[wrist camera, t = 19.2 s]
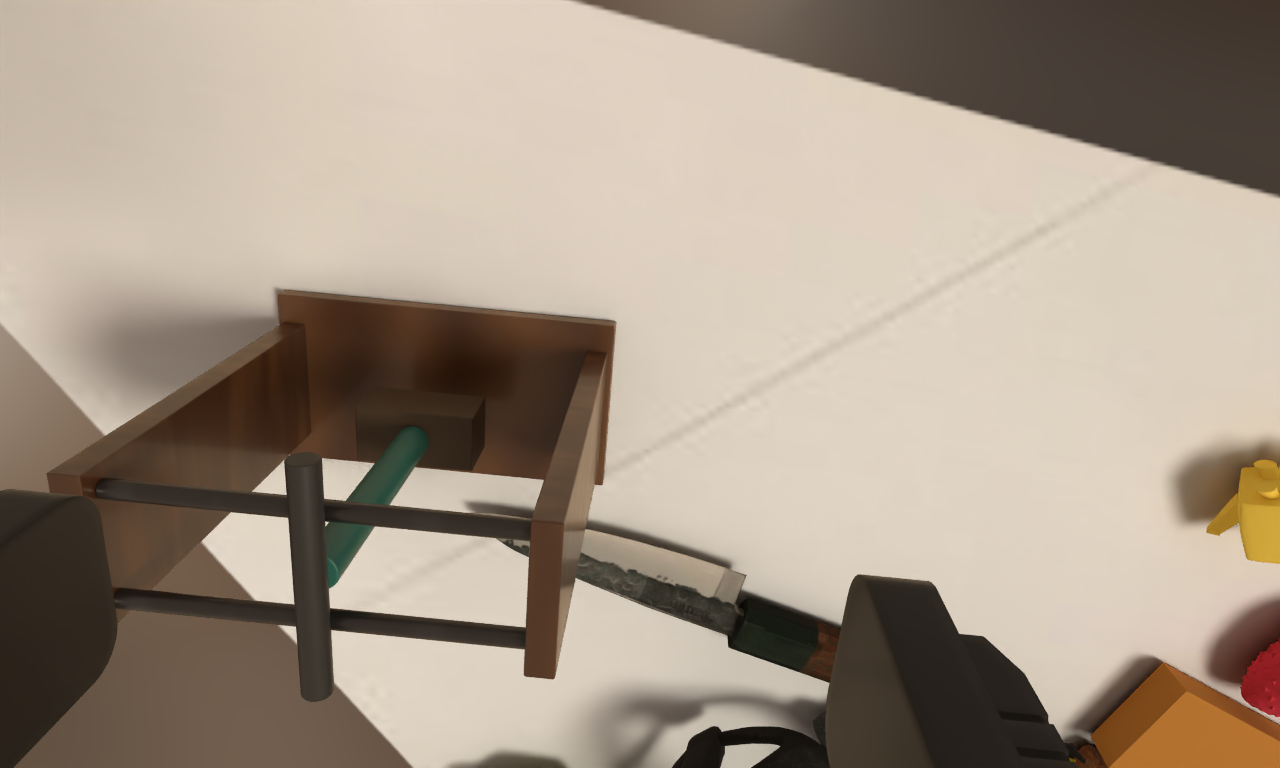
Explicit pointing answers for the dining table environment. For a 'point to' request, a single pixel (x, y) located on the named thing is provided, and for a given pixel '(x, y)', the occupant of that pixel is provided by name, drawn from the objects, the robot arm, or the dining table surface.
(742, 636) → the kitchen knife
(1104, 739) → the wooden plank
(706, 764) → the virtual reality headset
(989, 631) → the dining table surface
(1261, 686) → the strawberry
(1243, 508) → the yellow studded block
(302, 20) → the dining table surface
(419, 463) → the green t-shaped stand
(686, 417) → the dining table surface
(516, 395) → the wooden rack
